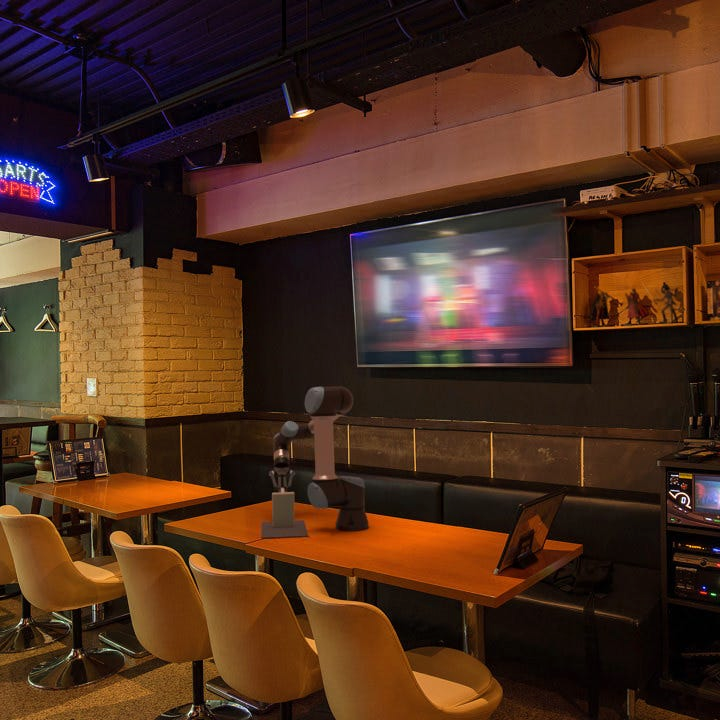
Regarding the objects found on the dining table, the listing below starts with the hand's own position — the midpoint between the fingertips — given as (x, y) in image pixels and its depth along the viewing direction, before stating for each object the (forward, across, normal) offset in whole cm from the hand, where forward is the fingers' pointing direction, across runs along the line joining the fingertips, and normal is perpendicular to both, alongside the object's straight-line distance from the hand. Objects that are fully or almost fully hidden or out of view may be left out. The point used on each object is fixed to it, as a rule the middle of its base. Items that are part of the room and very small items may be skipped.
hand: (282, 501), depth 319 cm
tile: (+12, 0, -2) cm, 12 cm away
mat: (+16, 0, 0) cm, 16 cm away
